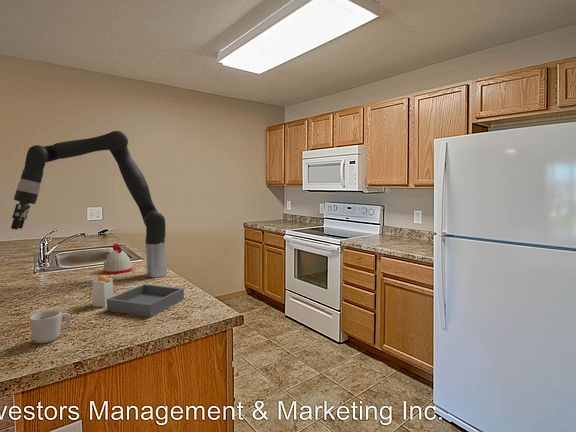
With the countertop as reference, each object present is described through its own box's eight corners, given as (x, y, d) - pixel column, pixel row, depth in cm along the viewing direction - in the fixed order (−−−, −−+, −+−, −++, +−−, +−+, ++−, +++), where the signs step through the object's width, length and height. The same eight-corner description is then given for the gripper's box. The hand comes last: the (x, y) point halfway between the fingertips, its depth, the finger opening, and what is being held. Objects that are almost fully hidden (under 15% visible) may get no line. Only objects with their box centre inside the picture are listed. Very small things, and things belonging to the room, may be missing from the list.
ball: (102, 281, 136) (102, 273, 136) (109, 282, 135) (109, 274, 135) (95, 284, 133) (95, 275, 133) (102, 285, 132) (102, 276, 132)
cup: (65, 328, 113) (64, 305, 112) (76, 334, 108) (75, 310, 107) (26, 341, 104) (24, 316, 103) (37, 348, 99) (35, 322, 98)
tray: (144, 294, 147) (144, 284, 147) (184, 299, 141) (183, 288, 141) (107, 310, 128) (106, 299, 128) (150, 317, 122) (150, 305, 122)
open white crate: (93, 306, 133) (91, 281, 132) (102, 301, 138) (100, 277, 137) (105, 306, 132) (103, 281, 131) (113, 302, 137) (112, 278, 136)
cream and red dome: (123, 266, 195) (122, 240, 193) (137, 270, 187) (136, 243, 185) (98, 271, 184) (97, 244, 182) (111, 275, 176) (110, 247, 174)
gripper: (35, 193, 139) (23, 231, 138) (41, 194, 152) (30, 229, 150) (12, 188, 136) (0, 227, 134) (20, 189, 148) (9, 226, 147)
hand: (16, 228), depth 142 cm, fingers open, 8 cm apart
